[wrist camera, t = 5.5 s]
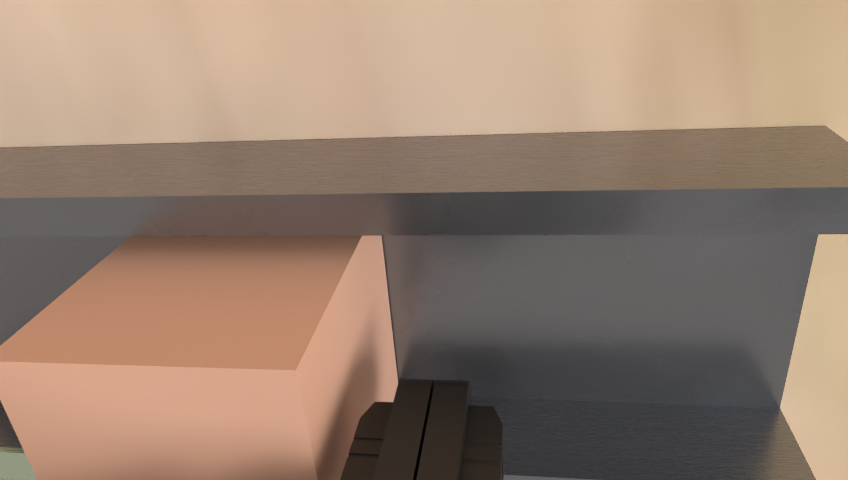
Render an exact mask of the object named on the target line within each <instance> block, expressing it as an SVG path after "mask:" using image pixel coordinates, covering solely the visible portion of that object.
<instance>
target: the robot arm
mask: <svg viewBox="0 0 848 480" xmlns="http://www.w3.org/2000/svg"><path fill="white" fill-rule="evenodd" d="M340 480H504V470H503V424H502V422H501V420H500V418H499V416H498V414H497V412H496V410H495V408H494V406H472V405H471V385H470V381H467V380H439V379H436V381H434V379H407V378H401V379H400V380H399V382H398V386H397V390H396V393H395V397H394V401H393V402H374V403H373V404H372V405H371V406H370V407H369V409H368V410H367V411H366V412H365V413H364V414H363V415H362V416H361V417H360V419H359V422H358V426H357V429H356V432H355V435H354V441H352V444H351V447H350V450H349V456H348V457H347V460H346V463H345V466H344V469H343V472H342V475H341V478H340Z"/></svg>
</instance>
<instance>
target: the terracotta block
mask: <svg viewBox="0 0 848 480" xmlns="http://www.w3.org/2000/svg"><path fill="white" fill-rule="evenodd" d="M397 386H398V377H397V368H396V359H395V350H394V342H393V333H392V324H391V315H390V306H389V297H388V288H387V279H386V270H385V261H384V253H383V244H382V235H371V236H130V237H129V238H128V239H127V240H125V241H124V242H123V243H122V244H121V245H119V246H118V247H117V248H116V249H115V250H114V251H112V252H111V253H110V254H109V255H108V256H106V257H105V258H104V259H103V260H102V261H100V262H99V263H98V264H97V265H96V266H95V267H93V268H92V269H91V270H90V271H89V272H87V273H86V274H85V275H84V276H83V277H81V278H80V279H79V280H78V281H77V282H76V283H74V284H73V285H72V286H71V287H70V288H68V289H67V290H66V291H65V292H64V293H62V294H61V295H60V296H59V297H58V298H56V299H55V300H54V301H53V302H52V303H51V304H49V305H48V306H47V307H46V308H45V309H43V310H42V311H41V312H40V313H39V314H37V315H36V316H35V317H34V318H33V319H32V320H30V321H29V322H28V323H27V324H26V325H24V326H23V327H22V328H21V329H20V330H18V331H17V332H16V333H15V334H14V335H13V336H11V337H10V338H9V339H8V340H7V341H5V342H4V343H3V344H2V345H1V346H0V400H1V403H2V405H3V407H4V409H5V411H6V413H7V416H8V418H9V420H10V422H11V424H12V426H13V428H14V431H15V433H16V435H17V437H18V439H19V441H20V444H21V446H22V448H23V450H24V452H25V454H26V457H27V459H28V461H29V463H30V465H31V467H32V470H33V472H34V474H35V476H36V478H37V480H340V478H341V475H342V472H343V469H344V466H345V463H346V460H347V457H348V456H349V450H350V447H351V444H352V441H354V435H355V432H356V429H357V426H358V422H359V419H360V417H361V416H362V415H363V414H364V413H365V412H366V411H367V410H368V409H369V407H370V406H371V405H372V404H373V403H374V402H393V401H394V397H395V393H396V390H397Z"/></svg>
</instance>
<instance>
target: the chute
mask: <svg viewBox="0 0 848 480" xmlns="http://www.w3.org/2000/svg"><path fill="white" fill-rule="evenodd" d="M818 234H848V142H847V141H845V140H844V139H843V138H841V137H840V136H839V135H837V134H836V133H835V132H833V131H832V130H831V129H829V128H828V127H826V126H805V127H768V128H730V129H693V130H655V131H617V132H580V133H542V134H505V135H467V136H429V137H392V138H354V139H317V140H279V141H241V142H204V143H166V144H129V145H91V146H53V147H16V148H0V346H1V345H2V344H3V343H4V342H5V341H7V340H8V339H9V338H10V337H11V336H13V335H14V334H15V333H16V332H17V331H18V330H20V329H21V328H22V327H23V326H24V325H26V324H27V323H28V322H29V321H30V320H32V319H33V318H34V317H35V316H36V315H37V314H39V313H40V312H41V311H42V310H43V309H45V308H46V307H47V306H48V305H49V304H51V303H52V302H53V301H54V300H55V299H56V298H58V297H59V296H60V295H61V294H62V293H64V292H65V291H66V290H67V289H68V288H70V287H71V286H72V285H73V284H74V283H76V282H77V281H78V280H79V279H80V278H81V277H83V276H84V275H85V274H86V273H87V272H89V271H90V270H91V269H92V268H93V267H95V266H96V265H97V264H98V263H99V262H100V261H102V260H103V259H104V258H105V257H106V256H108V255H109V254H110V253H111V252H112V251H114V250H115V249H116V248H117V247H118V246H119V245H121V244H122V243H123V242H124V241H125V240H127V239H128V238H129V237H130V236H371V235H382V244H383V253H384V261H385V270H386V279H387V288H388V297H389V306H390V315H391V324H392V333H393V342H394V350H395V359H396V368H397V377H398V382H399V380H400V379H401V378H407V379H434V381H436V379H439V380H467V381H470V385H471V405H472V406H494V408H495V410H496V412H497V414H498V416H499V418H500V420H501V422H502V424H503V470H504V480H816V479H815V477H814V475H813V473H812V471H811V469H810V467H809V465H808V463H807V461H806V459H805V457H804V455H803V453H802V451H801V449H800V447H799V445H798V443H797V441H796V439H795V437H794V435H793V433H792V431H791V429H790V427H789V425H788V423H787V421H786V419H785V417H784V415H783V413H782V412H781V410H780V404H781V399H782V395H783V390H784V386H785V381H786V377H787V372H788V368H789V363H790V359H791V354H792V350H793V345H794V341H795V336H796V332H797V327H798V323H799V318H800V314H801V309H802V305H803V300H804V296H805V291H806V287H807V282H808V278H809V273H810V269H811V264H812V260H813V255H814V251H815V246H816V242H817V237H818ZM0 479H14V480H37V478H36V476H35V474H34V472H33V470H32V467H31V465H30V463H29V461H28V459H27V457H26V454H25V452H24V450H23V448H22V446H21V444H20V441H19V439H18V437H17V435H16V433H15V431H14V428H13V426H12V424H11V422H10V420H9V418H8V416H7V413H6V411H5V409H4V407H3V405H2V403H1V400H0Z"/></svg>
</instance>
